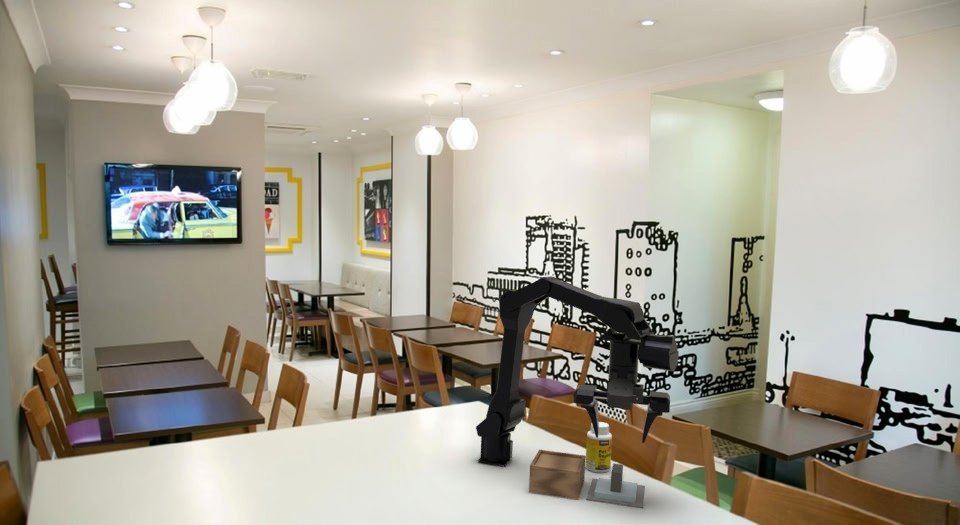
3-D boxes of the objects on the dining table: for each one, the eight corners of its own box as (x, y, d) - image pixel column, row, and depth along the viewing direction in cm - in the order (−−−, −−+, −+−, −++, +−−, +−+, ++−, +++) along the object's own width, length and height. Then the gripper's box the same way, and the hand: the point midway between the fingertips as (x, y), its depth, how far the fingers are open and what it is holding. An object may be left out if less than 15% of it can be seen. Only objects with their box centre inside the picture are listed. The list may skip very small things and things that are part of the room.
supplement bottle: (597, 475, 144) (599, 429, 143) (580, 466, 148) (582, 422, 148) (615, 470, 147) (617, 425, 146) (598, 462, 151) (600, 419, 151)
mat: (586, 499, 130) (586, 498, 130) (592, 479, 141) (592, 478, 141) (643, 508, 127) (643, 506, 127) (644, 487, 138) (644, 485, 138)
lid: (594, 496, 131) (595, 472, 131) (598, 482, 139) (599, 459, 139) (635, 502, 129) (636, 478, 129) (637, 487, 137) (638, 464, 137)
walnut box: (528, 492, 133) (530, 465, 133) (538, 474, 143) (539, 449, 142) (578, 499, 130) (579, 472, 130) (584, 481, 140) (585, 455, 140)
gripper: (571, 367, 127) (568, 446, 128) (671, 376, 122) (667, 458, 123) (579, 357, 138) (576, 430, 139) (671, 365, 133) (667, 440, 134)
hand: (620, 439), depth 134 cm, fingers open, 9 cm apart
